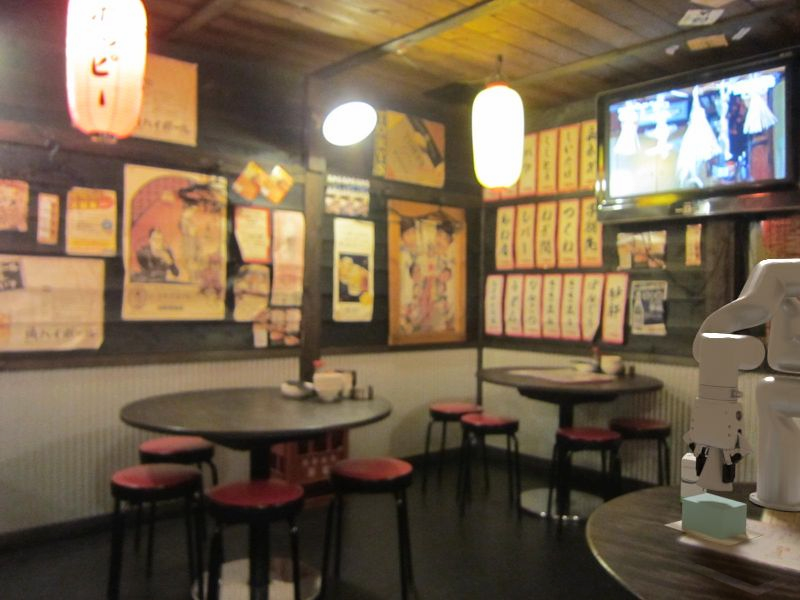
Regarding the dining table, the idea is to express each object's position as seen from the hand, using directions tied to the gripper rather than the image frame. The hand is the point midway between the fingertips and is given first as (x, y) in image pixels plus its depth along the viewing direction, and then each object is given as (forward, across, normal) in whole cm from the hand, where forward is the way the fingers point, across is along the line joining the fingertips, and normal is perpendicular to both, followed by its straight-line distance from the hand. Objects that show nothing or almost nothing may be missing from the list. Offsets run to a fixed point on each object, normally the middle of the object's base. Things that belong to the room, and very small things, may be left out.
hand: (714, 478), depth 140 cm
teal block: (+11, 0, 0) cm, 11 cm away
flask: (+2, 0, 0) cm, 2 cm away
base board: (+12, 0, 0) cm, 12 cm away
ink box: (+12, +15, -16) cm, 25 cm away
